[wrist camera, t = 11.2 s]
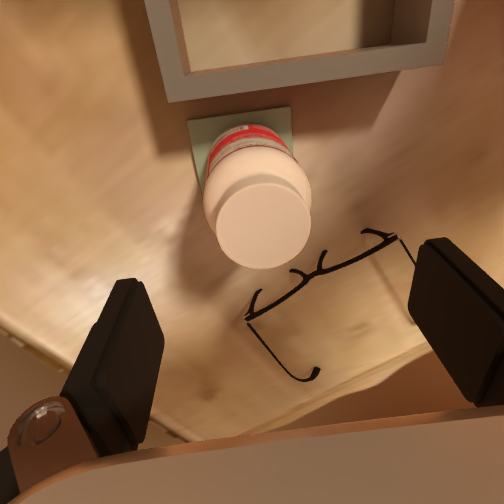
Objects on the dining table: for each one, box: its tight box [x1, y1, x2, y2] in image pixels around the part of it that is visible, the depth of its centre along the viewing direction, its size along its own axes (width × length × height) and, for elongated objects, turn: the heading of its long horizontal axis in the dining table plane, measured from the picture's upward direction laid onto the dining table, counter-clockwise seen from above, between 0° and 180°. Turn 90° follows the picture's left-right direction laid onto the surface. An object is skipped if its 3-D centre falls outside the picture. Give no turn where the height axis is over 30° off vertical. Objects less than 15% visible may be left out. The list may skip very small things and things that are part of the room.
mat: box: [186, 106, 293, 197], centre depth 25 cm, size 8×8×1 cm
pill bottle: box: [203, 123, 312, 269], centre depth 20 cm, size 6×6×11 cm
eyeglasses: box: [243, 229, 416, 382], centre depth 33 cm, size 16×16×4 cm
